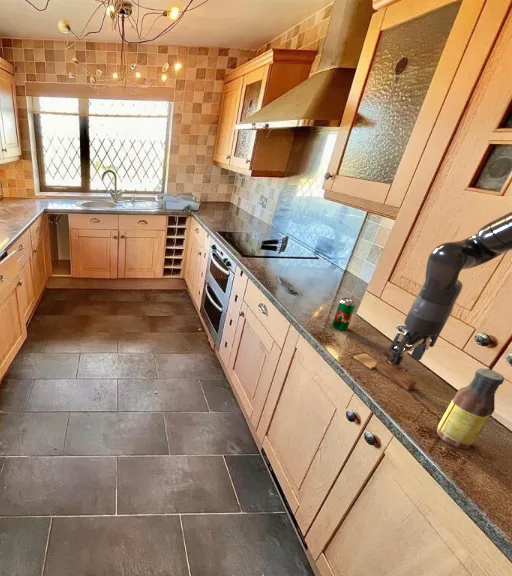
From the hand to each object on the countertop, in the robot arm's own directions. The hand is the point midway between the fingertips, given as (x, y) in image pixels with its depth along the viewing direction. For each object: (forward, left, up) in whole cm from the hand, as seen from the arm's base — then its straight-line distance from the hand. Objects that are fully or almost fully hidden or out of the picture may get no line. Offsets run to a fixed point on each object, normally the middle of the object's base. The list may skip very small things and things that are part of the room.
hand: (404, 361), depth 89 cm
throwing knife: (+29, -60, -7) cm, 67 cm away
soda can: (+11, -26, -7) cm, 29 cm away
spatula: (+2, -3, -7) cm, 8 cm away
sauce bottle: (-6, +19, -7) cm, 21 cm away
